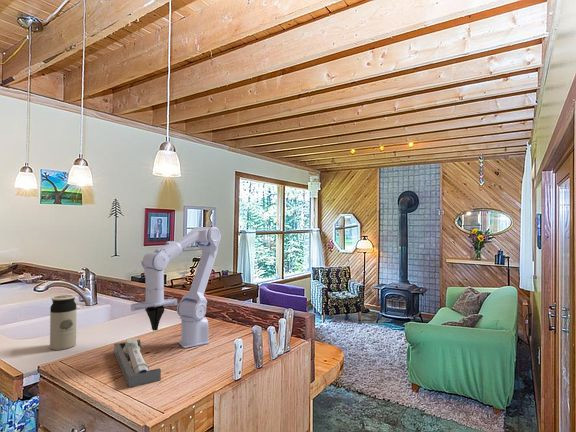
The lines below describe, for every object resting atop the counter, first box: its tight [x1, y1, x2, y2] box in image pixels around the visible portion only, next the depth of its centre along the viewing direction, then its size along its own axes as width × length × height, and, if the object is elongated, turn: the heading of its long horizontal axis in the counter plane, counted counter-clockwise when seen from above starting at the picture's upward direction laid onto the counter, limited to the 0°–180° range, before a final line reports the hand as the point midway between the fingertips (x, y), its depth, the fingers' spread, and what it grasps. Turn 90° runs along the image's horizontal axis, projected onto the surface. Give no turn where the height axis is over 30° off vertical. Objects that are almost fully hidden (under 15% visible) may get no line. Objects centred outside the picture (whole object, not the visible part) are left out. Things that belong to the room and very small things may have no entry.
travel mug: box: [49, 294, 77, 351], centre depth 129 cm, size 8×8×18 cm
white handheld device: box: [123, 337, 150, 374], centre depth 111 cm, size 5×7×25 cm
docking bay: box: [113, 339, 162, 389], centre depth 112 cm, size 8×31×3 cm, turn 33°
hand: (154, 329), depth 118 cm, fingers closed
